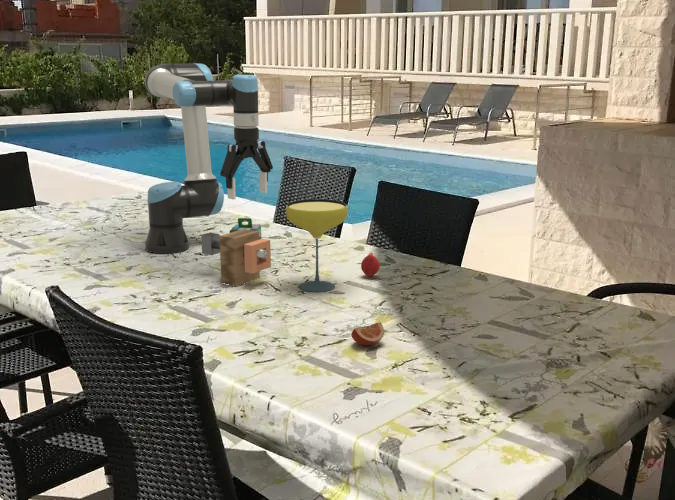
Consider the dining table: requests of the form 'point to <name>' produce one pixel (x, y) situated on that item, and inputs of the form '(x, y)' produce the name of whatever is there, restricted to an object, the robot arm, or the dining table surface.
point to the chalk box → (247, 226)
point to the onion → (370, 265)
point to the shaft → (213, 245)
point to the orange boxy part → (251, 256)
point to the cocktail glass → (316, 228)
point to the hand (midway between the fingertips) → (247, 195)
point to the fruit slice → (368, 334)
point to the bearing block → (236, 257)
